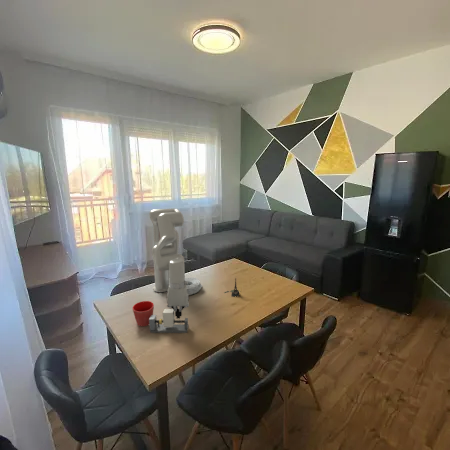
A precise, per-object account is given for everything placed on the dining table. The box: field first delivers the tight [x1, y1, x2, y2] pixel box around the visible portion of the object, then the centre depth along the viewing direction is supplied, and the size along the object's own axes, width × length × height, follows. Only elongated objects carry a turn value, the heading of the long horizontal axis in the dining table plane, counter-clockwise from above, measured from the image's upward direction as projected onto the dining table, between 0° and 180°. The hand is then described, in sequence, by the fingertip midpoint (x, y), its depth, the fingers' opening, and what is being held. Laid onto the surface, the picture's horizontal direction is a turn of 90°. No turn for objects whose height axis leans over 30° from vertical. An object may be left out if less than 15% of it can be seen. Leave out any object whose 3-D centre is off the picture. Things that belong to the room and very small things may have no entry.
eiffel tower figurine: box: [223, 277, 240, 298], centre depth 161 cm, size 15×10×13 cm
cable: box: [185, 277, 203, 296], centre depth 168 cm, size 18×18×6 cm
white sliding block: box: [162, 308, 176, 327], centre depth 125 cm, size 5×4×8 cm
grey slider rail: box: [148, 314, 190, 334], centre depth 126 cm, size 19×6×7 cm, turn 90°
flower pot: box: [132, 300, 155, 327], centre depth 131 cm, size 11×11×10 cm
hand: (178, 317), depth 125 cm, fingers closed
